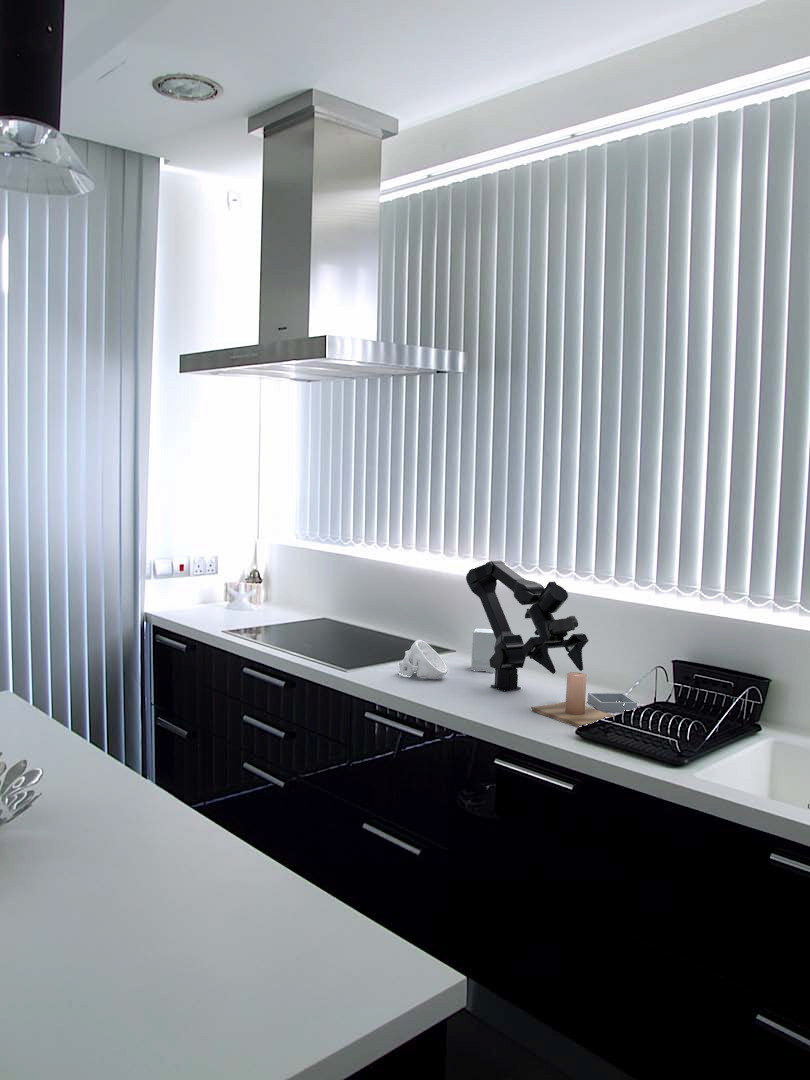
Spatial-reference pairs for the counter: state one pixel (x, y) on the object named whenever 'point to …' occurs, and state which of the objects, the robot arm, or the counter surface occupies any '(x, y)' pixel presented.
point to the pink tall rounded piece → (575, 693)
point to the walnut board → (559, 714)
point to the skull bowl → (423, 662)
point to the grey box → (611, 702)
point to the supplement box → (482, 649)
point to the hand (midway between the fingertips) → (568, 671)
